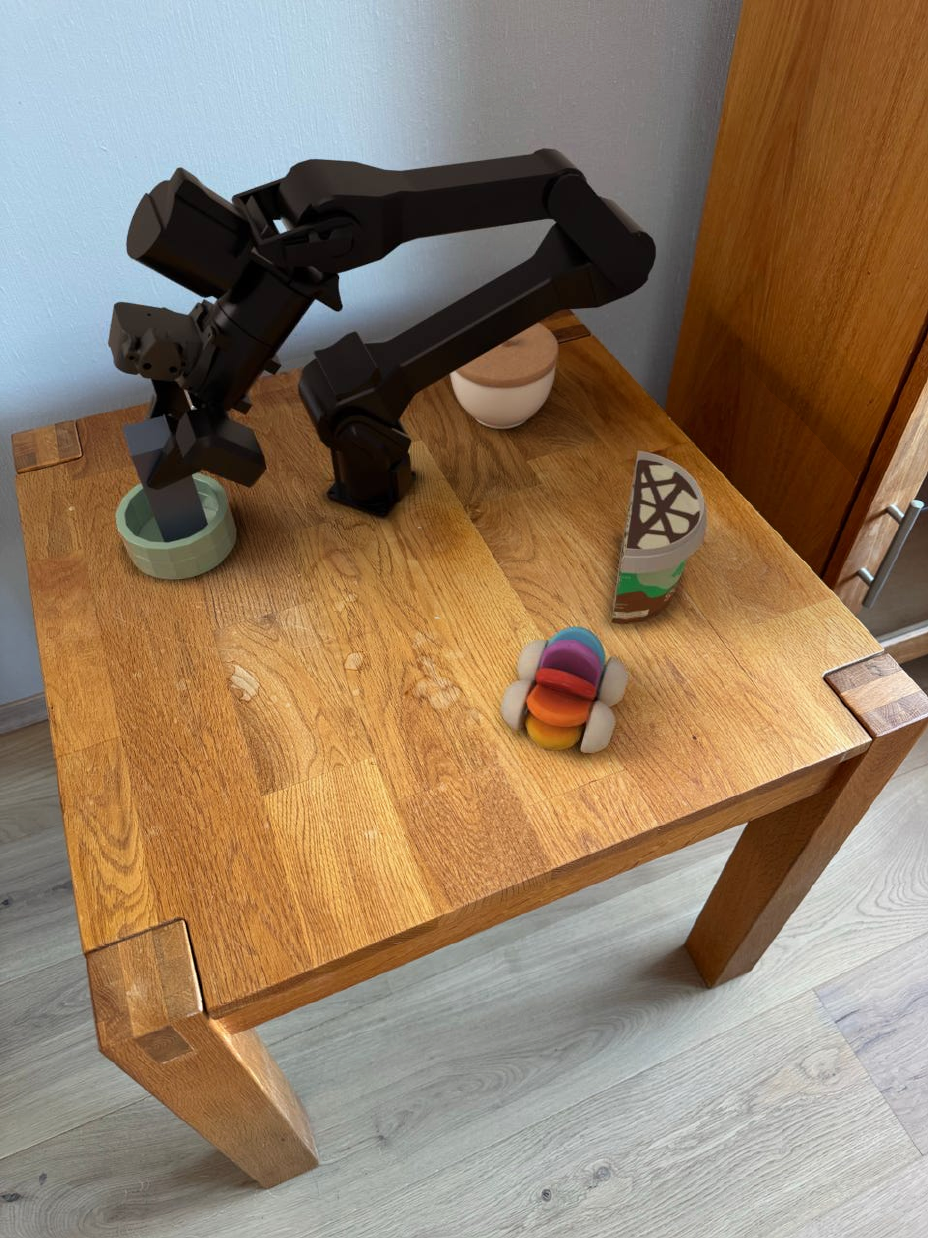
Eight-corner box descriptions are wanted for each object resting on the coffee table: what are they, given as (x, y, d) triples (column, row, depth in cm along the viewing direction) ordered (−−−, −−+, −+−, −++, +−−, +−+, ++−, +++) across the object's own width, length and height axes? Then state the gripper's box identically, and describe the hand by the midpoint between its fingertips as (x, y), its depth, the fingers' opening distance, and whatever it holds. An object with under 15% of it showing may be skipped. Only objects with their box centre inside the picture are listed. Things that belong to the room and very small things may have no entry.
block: (200, 501, 83) (171, 413, 75) (210, 530, 80) (181, 442, 73) (156, 514, 82) (121, 425, 74) (164, 544, 79) (130, 456, 72)
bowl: (107, 557, 82) (92, 526, 79) (174, 491, 87) (163, 459, 84) (193, 594, 79) (182, 562, 76) (257, 523, 84) (249, 491, 81)
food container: (684, 647, 75) (708, 565, 67) (609, 636, 76) (624, 554, 68) (691, 540, 82) (714, 455, 75) (623, 531, 83) (638, 446, 75)
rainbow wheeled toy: (491, 743, 69) (492, 688, 64) (530, 647, 75) (534, 589, 69) (600, 776, 67) (611, 723, 62) (631, 675, 73) (644, 618, 67)
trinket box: (427, 408, 95) (423, 329, 87) (502, 365, 99) (504, 286, 92) (500, 458, 90) (502, 379, 82) (574, 411, 94) (583, 331, 87)
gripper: (130, 208, 69) (36, 367, 75) (183, 341, 58) (67, 514, 64) (252, 280, 77) (158, 418, 83) (318, 408, 66) (204, 557, 72)
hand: (146, 470), depth 76 cm, fingers closed on block, 4 cm apart
